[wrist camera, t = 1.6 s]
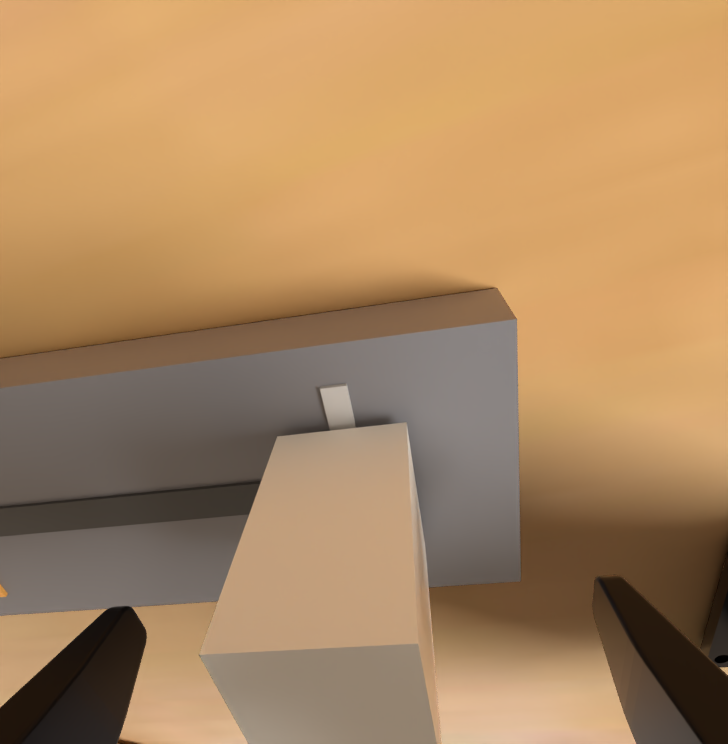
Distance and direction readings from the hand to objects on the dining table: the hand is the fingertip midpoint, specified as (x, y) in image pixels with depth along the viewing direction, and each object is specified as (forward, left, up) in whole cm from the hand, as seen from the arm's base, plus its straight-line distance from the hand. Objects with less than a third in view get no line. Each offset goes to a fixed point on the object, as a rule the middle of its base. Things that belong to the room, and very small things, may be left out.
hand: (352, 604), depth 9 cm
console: (0, +8, -5) cm, 10 cm away
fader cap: (0, 0, -3) cm, 3 cm away
